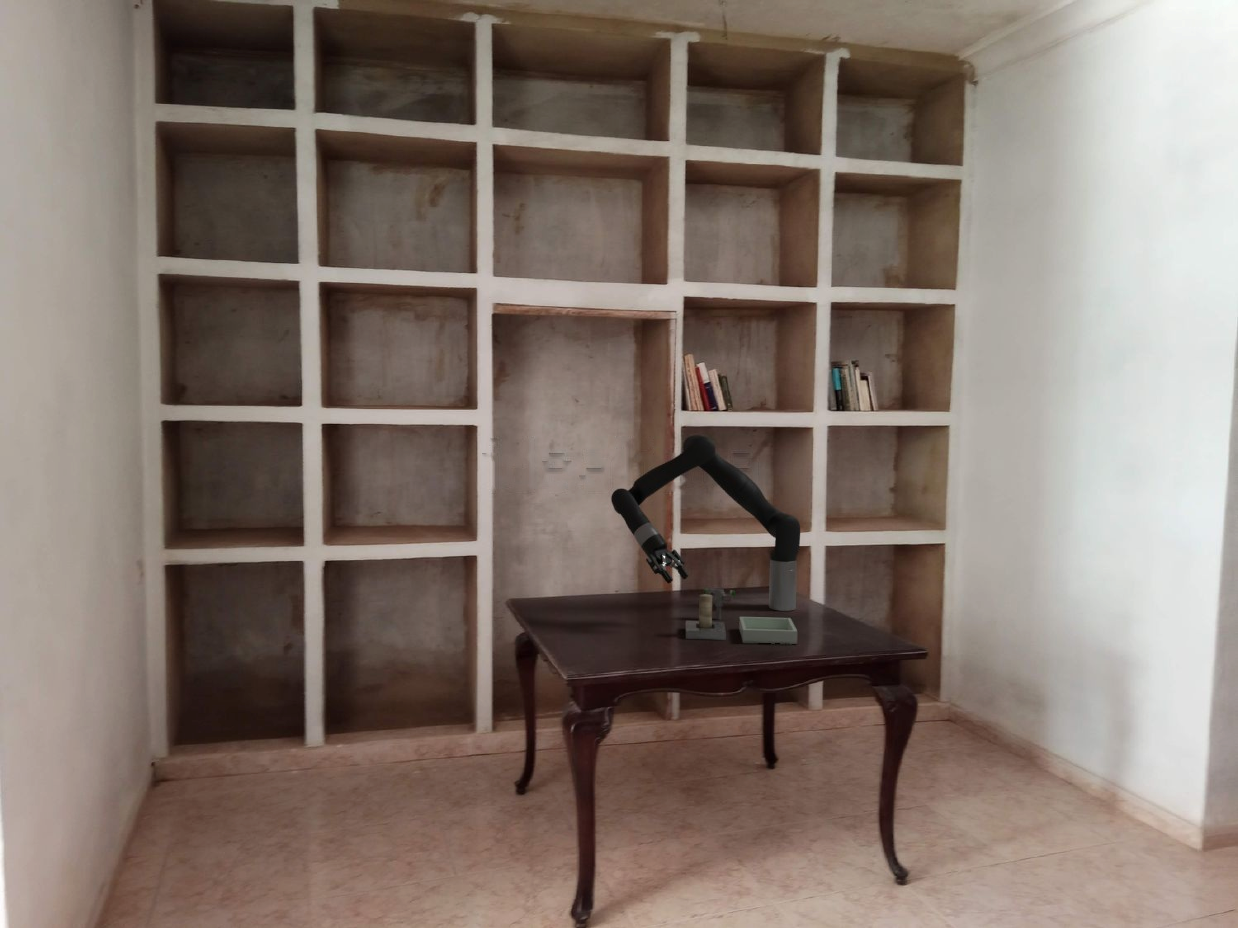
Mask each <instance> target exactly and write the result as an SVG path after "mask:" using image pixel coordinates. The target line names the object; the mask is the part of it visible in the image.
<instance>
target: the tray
mask: <svg viewBox="0 0 1238 928" xmlns="http://www.w3.org/2000/svg"><path fill="white" fill-rule="evenodd" d="M738 624H739V625H738V626H739V627H738V630H739V633H740V638H741V641H742V644H758V643H771V644H770V645H776V644H775V643H780V644H779V645H792V644H797V645H798V629H797V628H796V625H795V624H794V622H793V620H792V619H791V617H770V616H769V617H761V616H760V617H758V616H739V623H738ZM785 643H787V644H785ZM788 643H789V644H788Z"/></svg>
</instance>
